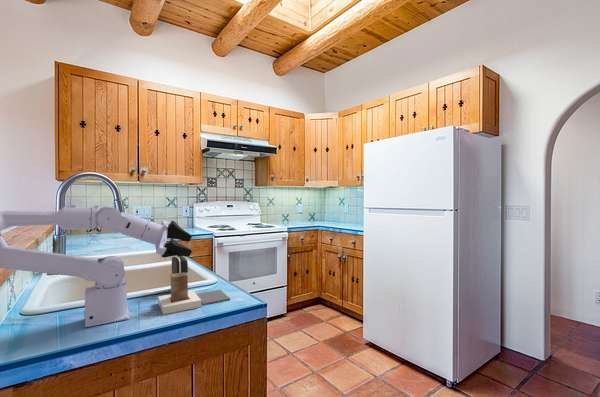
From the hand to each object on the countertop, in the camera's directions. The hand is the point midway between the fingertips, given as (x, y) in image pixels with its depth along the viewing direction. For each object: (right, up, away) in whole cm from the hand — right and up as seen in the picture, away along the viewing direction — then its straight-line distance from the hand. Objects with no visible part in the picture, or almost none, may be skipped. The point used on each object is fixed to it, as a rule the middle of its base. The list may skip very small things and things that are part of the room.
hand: (190, 245), depth 91 cm
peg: (-3, -17, -2) cm, 17 cm away
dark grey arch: (-8, -17, +13) cm, 23 cm away
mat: (+5, -17, +5) cm, 18 cm away
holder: (-3, -17, -2) cm, 17 cm away
